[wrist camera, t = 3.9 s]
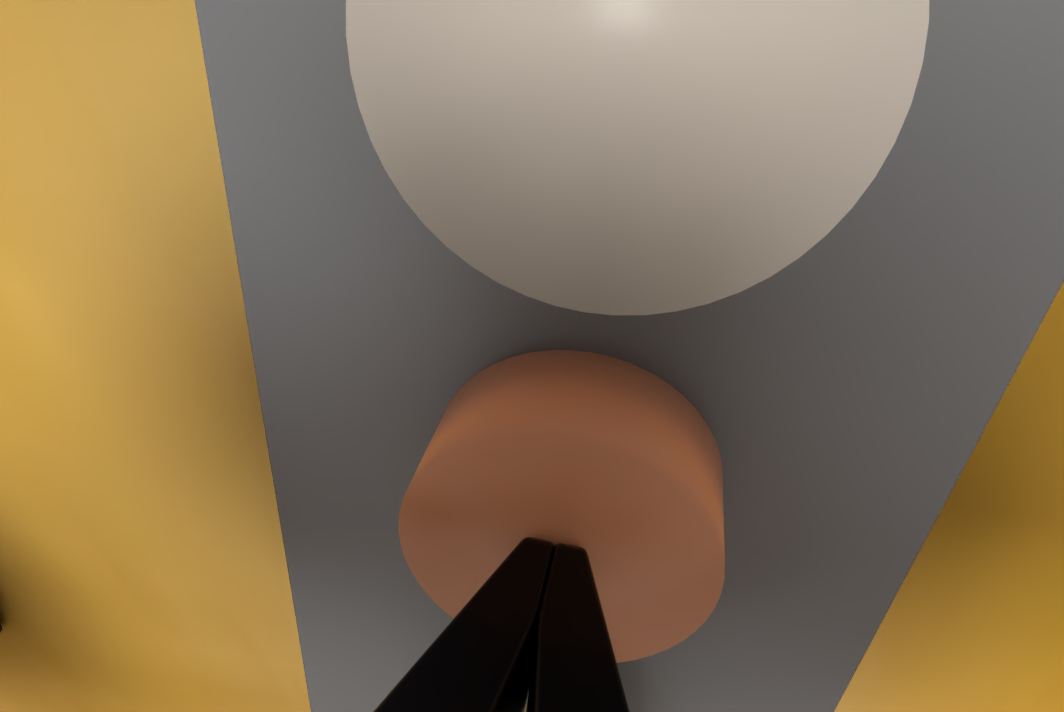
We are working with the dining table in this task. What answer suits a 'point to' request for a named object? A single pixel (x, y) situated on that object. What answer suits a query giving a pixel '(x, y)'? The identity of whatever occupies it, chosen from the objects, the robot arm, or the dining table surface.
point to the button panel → (645, 354)
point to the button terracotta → (575, 491)
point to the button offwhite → (633, 134)
